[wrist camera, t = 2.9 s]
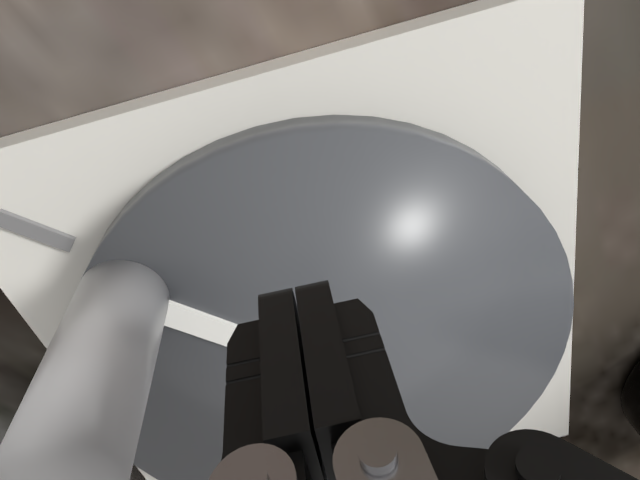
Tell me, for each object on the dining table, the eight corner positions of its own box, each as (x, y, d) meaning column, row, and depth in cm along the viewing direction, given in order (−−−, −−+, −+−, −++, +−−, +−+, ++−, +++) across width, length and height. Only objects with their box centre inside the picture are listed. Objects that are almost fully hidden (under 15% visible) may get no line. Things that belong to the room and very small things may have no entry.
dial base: (559, -24, 17) (588, -18, 15) (554, 412, 29) (570, 437, 28) (-63, 155, 18) (-91, 175, 16) (189, 506, 30) (185, 535, 28)
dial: (649, 255, 21) (854, 425, 14) (383, 512, 29) (426, 704, 22) (210, -11, 14) (166, 55, 7) (18, 423, 22) (-95, 662, 15)
